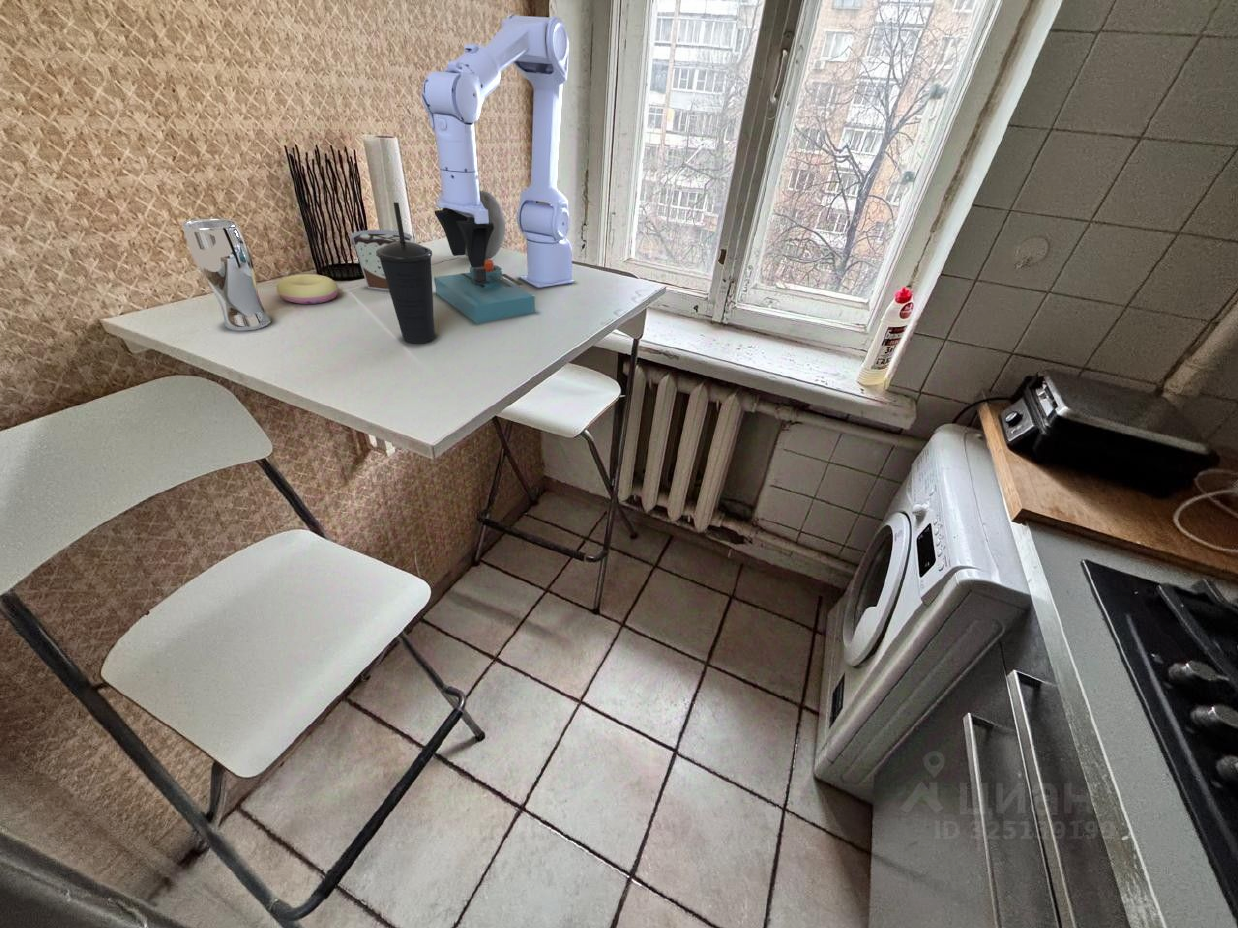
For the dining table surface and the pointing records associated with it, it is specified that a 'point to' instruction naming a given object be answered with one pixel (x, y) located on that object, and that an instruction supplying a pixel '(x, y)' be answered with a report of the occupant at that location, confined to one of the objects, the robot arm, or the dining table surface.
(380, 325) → the dining table surface
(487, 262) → the button
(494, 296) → the teal control box
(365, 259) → the food container
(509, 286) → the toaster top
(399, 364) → the dining table surface
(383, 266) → the drinking cup
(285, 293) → the donut
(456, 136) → the robot arm
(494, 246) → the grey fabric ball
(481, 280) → the slider
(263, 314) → the chrome curved vase
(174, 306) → the dining table surface
